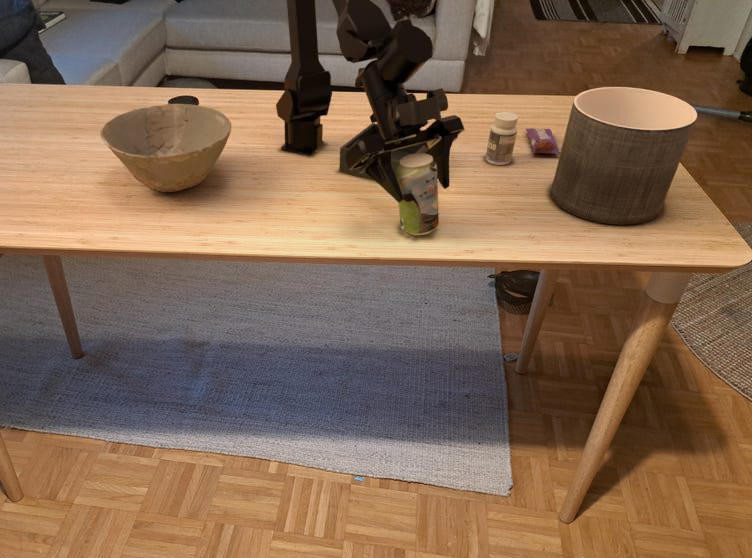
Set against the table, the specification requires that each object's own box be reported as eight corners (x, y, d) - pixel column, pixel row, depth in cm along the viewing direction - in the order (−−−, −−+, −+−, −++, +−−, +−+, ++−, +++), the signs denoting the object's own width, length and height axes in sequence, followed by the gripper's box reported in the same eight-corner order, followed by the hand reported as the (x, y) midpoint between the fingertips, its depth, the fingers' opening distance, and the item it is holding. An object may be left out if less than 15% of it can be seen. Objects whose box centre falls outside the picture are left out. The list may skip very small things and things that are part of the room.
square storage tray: (339, 171, 125) (339, 147, 122) (371, 145, 133) (372, 122, 130) (405, 188, 120) (407, 163, 117) (434, 160, 128) (437, 136, 125)
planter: (673, 229, 108) (713, 132, 97) (557, 222, 110) (583, 126, 100) (647, 179, 121) (679, 89, 110) (544, 173, 123) (566, 84, 113)
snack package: (526, 123, 136) (551, 124, 135) (523, 133, 137) (549, 134, 136) (534, 147, 127) (562, 148, 126) (532, 157, 128) (559, 158, 128)
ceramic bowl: (182, 144, 135) (176, 94, 129) (261, 180, 123) (258, 126, 116) (86, 181, 124) (73, 127, 117) (161, 225, 111) (152, 168, 105)
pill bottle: (481, 155, 129) (489, 111, 124) (506, 154, 130) (515, 110, 124) (489, 166, 126) (498, 121, 120) (514, 164, 126) (524, 120, 120)
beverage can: (436, 241, 106) (447, 169, 98) (389, 237, 107) (396, 165, 99) (438, 221, 111) (448, 151, 103) (392, 217, 112) (399, 147, 104)
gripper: (359, 82, 93) (399, 189, 93) (466, 60, 100) (504, 159, 99) (328, 120, 103) (364, 216, 103) (427, 97, 110) (461, 187, 110)
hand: (424, 194), depth 104 cm, fingers open, 8 cm apart
